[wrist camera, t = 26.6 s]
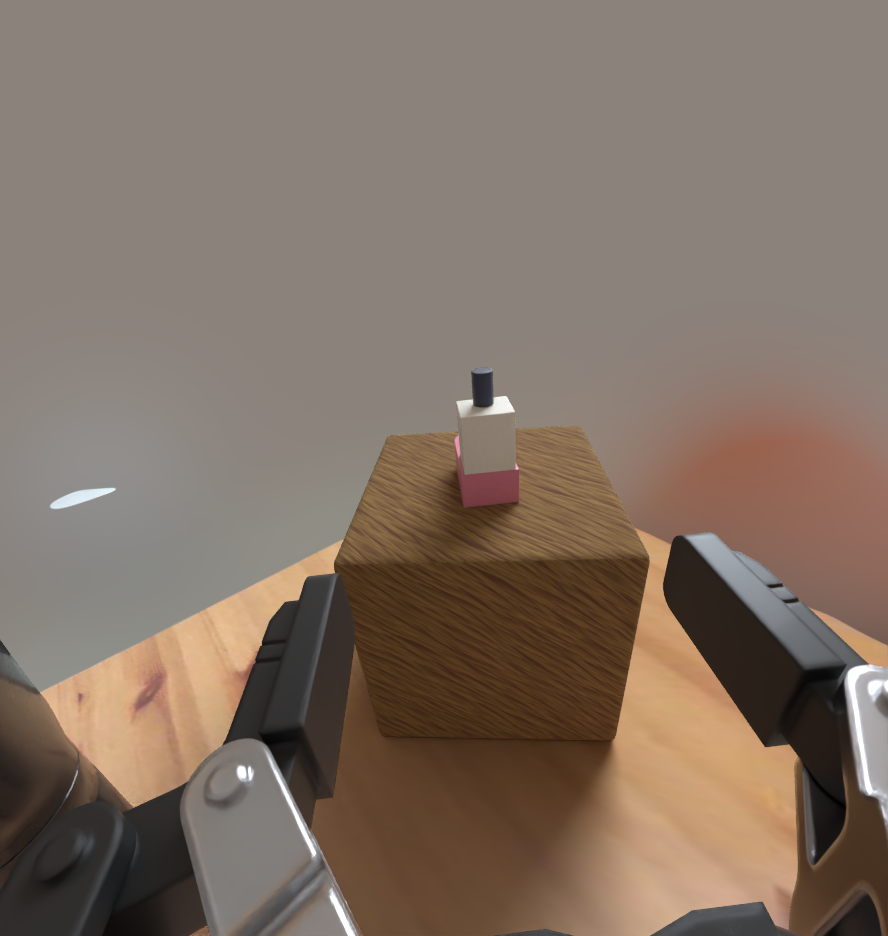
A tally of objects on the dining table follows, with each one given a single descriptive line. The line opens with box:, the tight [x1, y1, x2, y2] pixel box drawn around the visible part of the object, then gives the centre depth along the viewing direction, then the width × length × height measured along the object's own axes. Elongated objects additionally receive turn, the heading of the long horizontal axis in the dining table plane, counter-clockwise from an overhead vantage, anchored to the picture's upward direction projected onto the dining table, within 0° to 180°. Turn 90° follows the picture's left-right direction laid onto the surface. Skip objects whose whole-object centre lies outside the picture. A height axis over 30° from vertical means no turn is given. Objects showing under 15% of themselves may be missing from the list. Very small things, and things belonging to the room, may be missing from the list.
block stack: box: [455, 368, 519, 508], centre depth 41 cm, size 10×5×12 cm, turn 4°
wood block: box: [334, 426, 649, 741], centre depth 50 cm, size 25×25×25 cm
